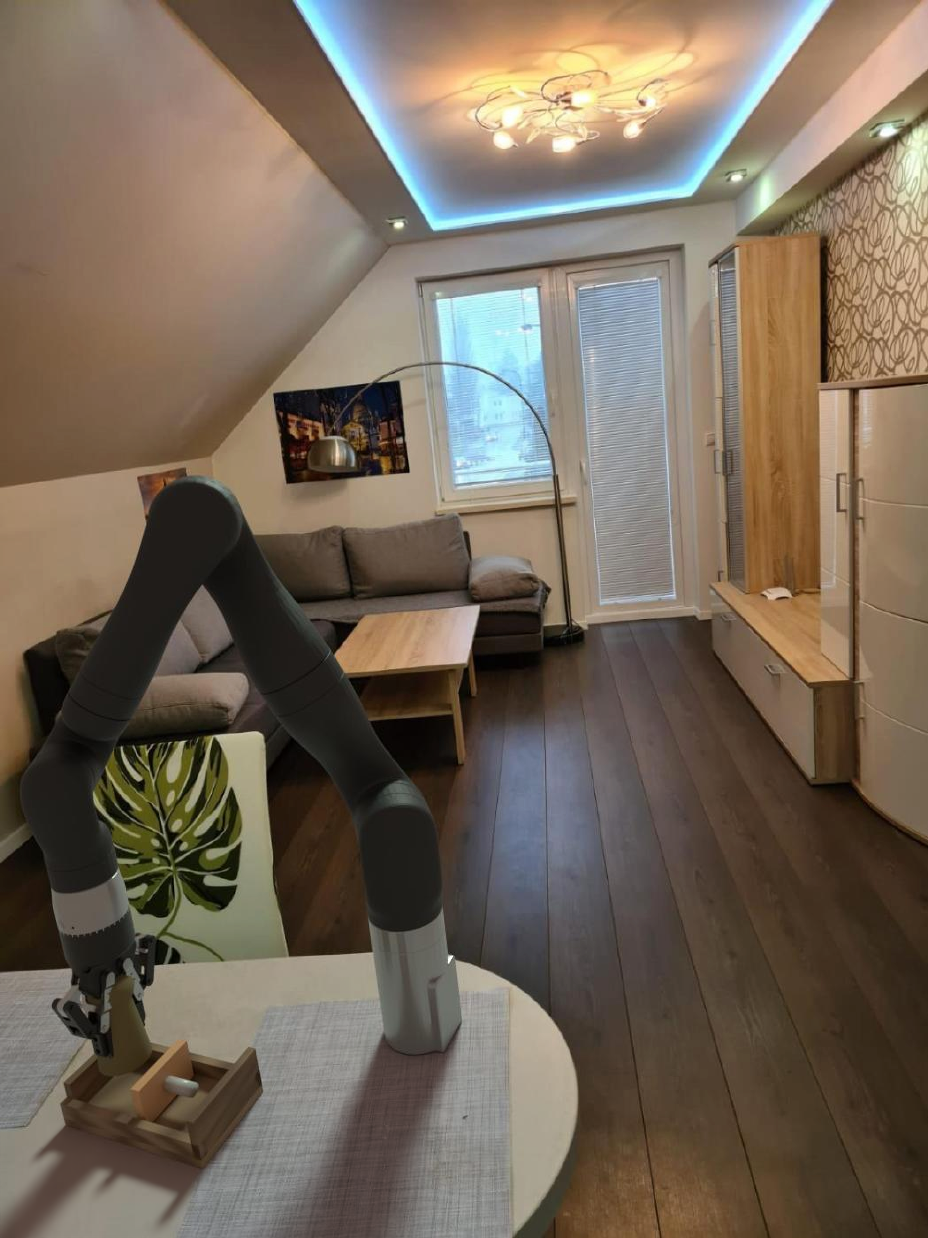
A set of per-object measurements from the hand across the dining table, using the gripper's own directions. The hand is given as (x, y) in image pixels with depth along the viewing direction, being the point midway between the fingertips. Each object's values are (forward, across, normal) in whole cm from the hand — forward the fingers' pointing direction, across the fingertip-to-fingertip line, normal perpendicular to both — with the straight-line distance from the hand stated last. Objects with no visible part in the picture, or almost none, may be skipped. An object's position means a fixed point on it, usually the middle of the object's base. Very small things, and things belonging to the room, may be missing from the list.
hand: (122, 1040), depth 99 cm
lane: (+8, 0, -4) cm, 9 cm away
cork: (+2, 0, 0) cm, 2 cm away
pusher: (+7, 0, -7) cm, 10 cm away
